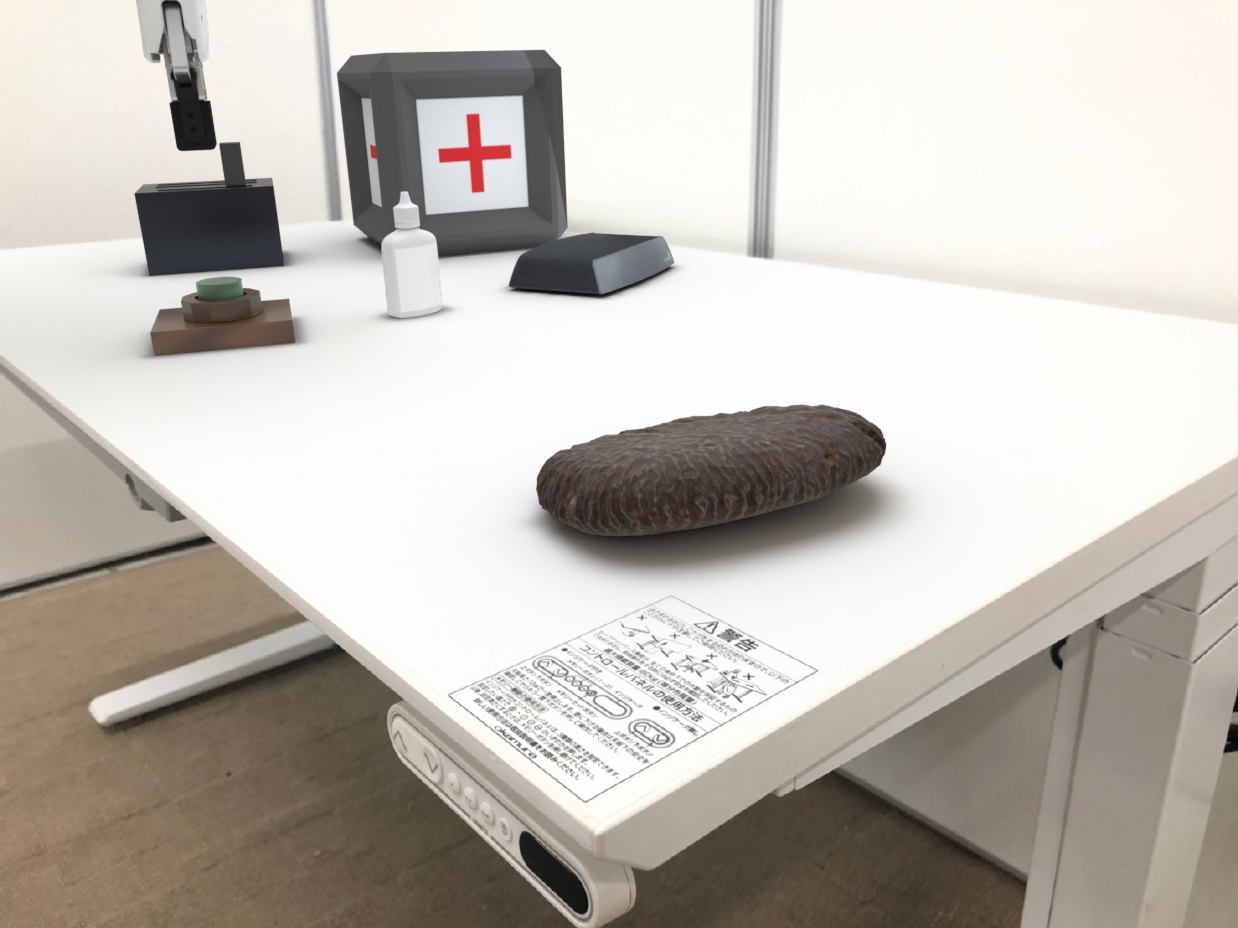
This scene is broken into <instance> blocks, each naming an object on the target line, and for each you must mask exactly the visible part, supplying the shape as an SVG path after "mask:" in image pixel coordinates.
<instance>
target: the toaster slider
mask: <svg viewBox="0 0 1238 928" xmlns="http://www.w3.org/2000/svg"><path fill="white" fill-rule="evenodd" d="M218 145H219V152H220V160H221V165H222V167H221V168H222V173H223V180H225V185H226V186H234V185H246V180H245V179H246V174H245V167H244V159H243V152H242V145H241V141H227V142H219V143H218Z"/></svg>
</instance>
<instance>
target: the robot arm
mask: <svg viewBox="0 0 1238 928" xmlns="http://www.w3.org/2000/svg"><path fill="white" fill-rule="evenodd" d="M206 1H207V0H135V3H136V11H137V17H138V24H139V30H140V31H139V32H140V37H141V45H142V52H143V58H144V59H145V60H146V61H148V62H149V63H150V64H161V62H162V60H161V56H163V60H164V68H165V71H166V78H167V85H168V90H169V96H170V101H171V102H168V103H169V109H170V115H171V123H172V127H173V128H172V129H173V134H174V139H175V145H176V149H177V150H178V151H179V152H192V151H193V152H195V151H196V152H197V151H213V150H215V149H216V147H217V144H218V143H217V136H216V129H215V121H214V115H213V110H212V103H211V100H208V93H207V92H208V91H207V87H206V80H205V73H204V65H203V63H205V62H206V61H208V59H210V38H209V21H208V10H207V2H206Z"/></svg>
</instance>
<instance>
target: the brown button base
mask: <svg viewBox="0 0 1238 928" xmlns="http://www.w3.org/2000/svg"><path fill="white" fill-rule="evenodd" d="M243 293H244V296H242V297H238V298H233V299H228V300H216V301H206V300H198V294H197V291H195V292H192V293H188V294H186V295H183V296H181V299H180V304H181V307H172V308H171V307H170V308H161V309H160V308H159V310H158V312H157V315H156V317H155V320H154V322H153V324H152V327H151V329H150V332H149V335H150V340H151V345H152V350H153V356H154V357H160V356H161V357H162V356H171V355H180V354H181V355H182V354H192V353H203V352H212V351H224V350H232V349H233V350H234V349H235V350H236V349H245V348H256V347H267V346H276V345H278V346H279V345H286V344H287V345H289V344H295V343H296V338H295V337H296V335H295V329H294V321H293V314H292V309H291V301H290V298H280V299H279V298H278V299H268V300H262V295H261V291H260V290H259V289H255V288H250V287H243Z"/></svg>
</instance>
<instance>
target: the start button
mask: <svg viewBox="0 0 1238 928" xmlns="http://www.w3.org/2000/svg"><path fill="white" fill-rule="evenodd" d="M195 287H196V292H197V294H198V300H206V301H216V300H228V299H233V298H238V297H242V296H244V293H243V288H244V286H243V280H242V278H241V277H237V276H215V277H209V278H203V279H200V280H197V281H196V282H195Z"/></svg>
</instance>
